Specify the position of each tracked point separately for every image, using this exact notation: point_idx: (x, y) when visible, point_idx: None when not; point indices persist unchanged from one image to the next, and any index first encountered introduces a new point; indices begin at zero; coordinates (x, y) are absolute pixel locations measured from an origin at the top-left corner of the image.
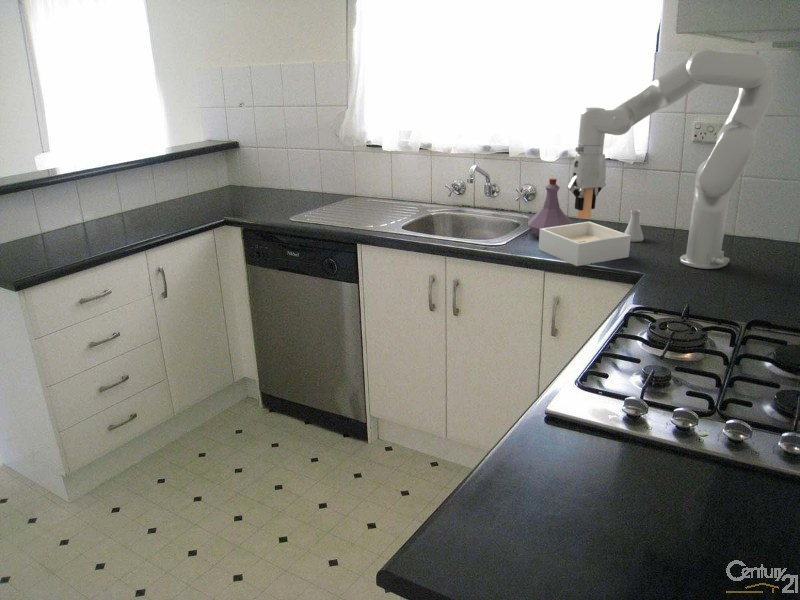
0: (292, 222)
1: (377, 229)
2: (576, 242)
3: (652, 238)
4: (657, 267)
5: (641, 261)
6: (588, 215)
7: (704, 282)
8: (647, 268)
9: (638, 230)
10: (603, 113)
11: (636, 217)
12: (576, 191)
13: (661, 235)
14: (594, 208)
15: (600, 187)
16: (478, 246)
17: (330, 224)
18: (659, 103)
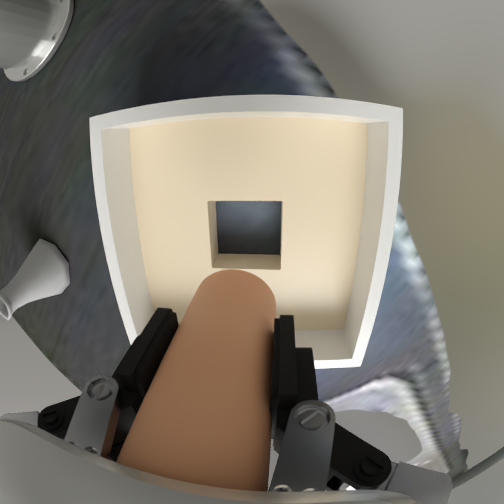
0: (454, 466)
1: (433, 454)
2: (396, 132)
3: (19, 248)
4: (136, 10)
5: (132, 67)
6: (227, 278)
7: None
8: (167, 7)
9: (28, 261)
10: None
11: (9, 288)
12: (373, 466)
13: (4, 257)
14: (160, 307)
15: (42, 426)
16: (425, 379)
17: (443, 464)
18: None
